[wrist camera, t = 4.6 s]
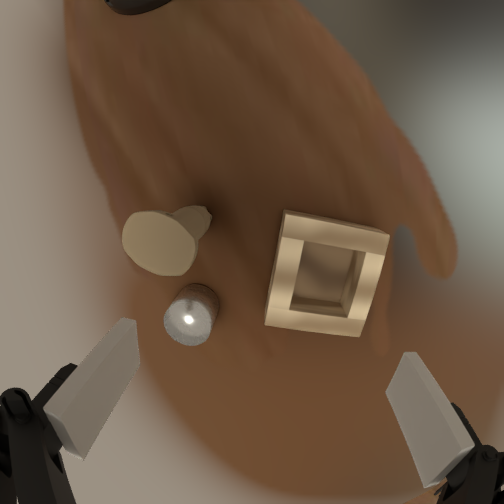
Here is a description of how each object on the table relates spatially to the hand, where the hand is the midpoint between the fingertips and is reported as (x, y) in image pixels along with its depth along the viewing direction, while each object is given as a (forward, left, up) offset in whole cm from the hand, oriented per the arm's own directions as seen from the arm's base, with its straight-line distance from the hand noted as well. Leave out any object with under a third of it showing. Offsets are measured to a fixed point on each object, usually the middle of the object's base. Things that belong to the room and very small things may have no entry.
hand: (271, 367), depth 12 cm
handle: (-2, -9, -25) cm, 27 cm away
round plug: (+10, -8, -25) cm, 28 cm away
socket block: (+2, +7, -25) cm, 26 cm away
